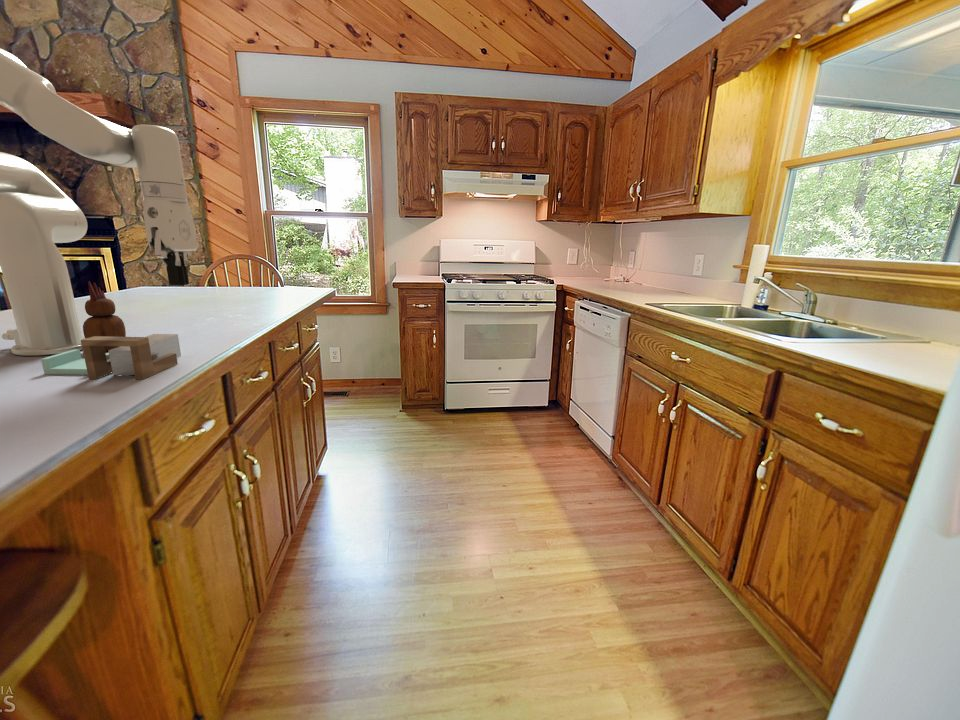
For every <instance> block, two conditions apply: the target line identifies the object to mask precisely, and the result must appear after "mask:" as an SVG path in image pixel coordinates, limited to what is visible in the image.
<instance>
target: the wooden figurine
mask: <svg viewBox="0 0 960 720" xmlns="http://www.w3.org/2000/svg"><path fill="white" fill-rule="evenodd" d="M87 284H88V292H89V299H87V301H85V304H84V310H85V312H86V314H87V315H88V316H89V317H88V318H87V319H86V320H84V322H83V325H82V332H83V338H85V339H86V338H90V337H93V336H110V337H127V335H126V334H127V332H126V325H125V322H124V321H123V319H122V318H121V317H120V316H118V315H115V312H116V304H115V303H114V300H112V299H110V298H107V297H106V295H105V292H104V290H101V288H100V287H97V284H96V282H93V284H92V283H91V281H90V280H89V281H87ZM116 347H119V346H104V349H105V353H107V352H106V351H108V350H111V349H114V348H116Z"/></svg>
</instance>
